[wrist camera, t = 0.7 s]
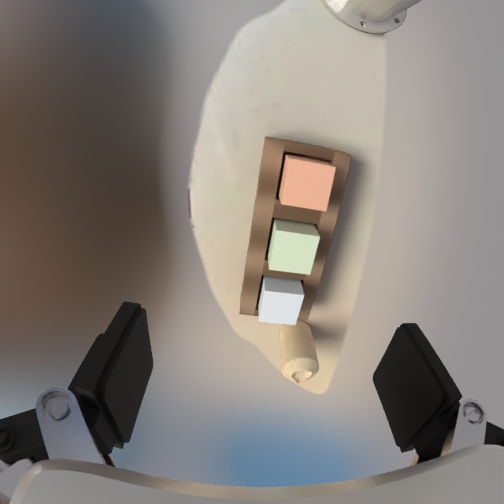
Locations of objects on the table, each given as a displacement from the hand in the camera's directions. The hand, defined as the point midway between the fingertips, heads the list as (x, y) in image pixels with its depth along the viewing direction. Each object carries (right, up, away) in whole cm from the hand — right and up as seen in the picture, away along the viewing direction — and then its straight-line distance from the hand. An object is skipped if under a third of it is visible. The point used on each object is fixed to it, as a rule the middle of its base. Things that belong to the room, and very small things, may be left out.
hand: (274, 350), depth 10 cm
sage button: (+4, +5, +27) cm, 28 cm away
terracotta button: (+5, +12, +23) cm, 27 cm away
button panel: (+4, +6, +29) cm, 30 cm away
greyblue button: (+3, -2, +30) cm, 30 cm away
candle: (+7, -10, +37) cm, 39 cm away
